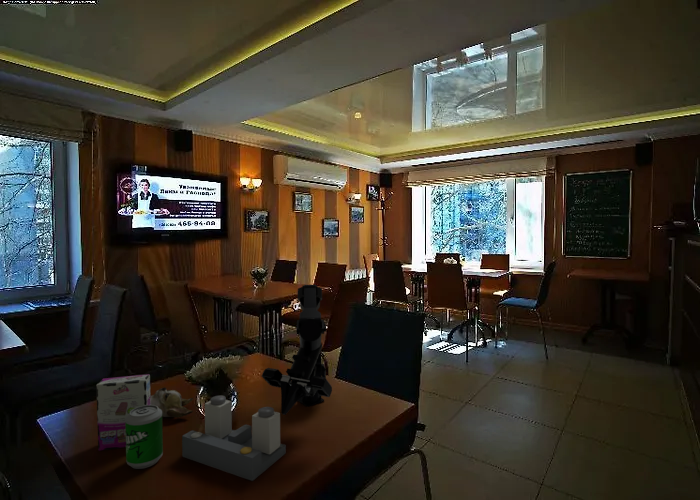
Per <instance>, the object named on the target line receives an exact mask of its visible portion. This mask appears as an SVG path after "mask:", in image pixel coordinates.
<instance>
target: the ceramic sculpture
mask: <svg viewBox="0 0 700 500" xmlns="http://www.w3.org/2000/svg"><path fill="white" fill-rule="evenodd" d="M193 400H194V398H192V397H191V398H188V399H186V398H182V395H181V393H180V392H178V391H177V390H175V389H172V390H171V389H168V390H167V388H166V387H161V388H159V389H158V390H156V391H155V393H154V394H152V395H151V405H155V406H157V407H158V408H159V409H161V410H162V418H171V417H172V418H182V417H186V416H189V415H190V414H192V413H193V412H194V411H193V410H191V409H188V408H187V407H185V406H187V405H188V404H190V403H191V402H192V401H193Z"/></svg>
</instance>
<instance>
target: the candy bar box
mask: <svg viewBox="0 0 700 500" xmlns="http://www.w3.org/2000/svg"><path fill="white" fill-rule="evenodd" d="M95 387H96V389H95V391H96V418H97V419H96V420H97V423H96V424H97V450H98V451H99V452H100V451H109V450H116V449H121V448H126V426H125V419H126V416H127V415H128V414H129V413H130V411H131V410H133V409H135V408H137V407H140V406H145V405H151V396H152V395H151V375H150V374H149V373H148V374H138V375H129V376H128V375H126V376H117V377H108V378H107V377H106V378H102V379H101V380H100V381H99V382H98V383H97V384H96V385H95Z"/></svg>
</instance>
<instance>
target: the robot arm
mask: <svg viewBox="0 0 700 500" xmlns="http://www.w3.org/2000/svg"><path fill="white" fill-rule="evenodd" d="M322 300H323V288H322V287H319V286H318V285H316V284H304V285H302V286H301V287H298V288H297V301H298V302H299V308H300V309H301V312H300V313H299V319H298V320H296V329H295V330H296V336H297V335H298V336H299V345H300V346H299V348H298V350H297V352H296V354H293V355H292V358H291V359H292V360H293V361H292V364H291V367H290V368H287V369H286V371H285V372H286V374H287V375H286V374H283V373H282V372H281V371H280V370H279V369H278V368H272V367H267V368H265V369H263V372H262V374H261V377H262V379H263V380H265V382H266V383H267V384H268V385H269V386H271V387H274V388H279V389H280V393H281V395H280V397H281V399H280V401H281V402H280V403H281V406H280V409H281V410H280V411H281V413H280V414H281V415H283V416H285V415H287V414H288V413H289V412H290V410H292V408H293V407H294V406H295V405H296V404H297V402H299V403H301V404H302V405H303V406H305V407H311V406H315V405H317V404H320V403H323V402H325V399H324V398H322V397H326V398H330V397H331V394H332V392H333V387H332V384H330V382H329V381H328V379H327V368H326V367H325V364H324V363H322V359H323V358H322V355H321V351H322V348H323V343H322V336H323V335H324V334H325V332H327V324H326V323H325V321H324V319H322V314H321V312H320V311H319V309H320V308H321V307H320V306H321V301H322Z"/></svg>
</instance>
